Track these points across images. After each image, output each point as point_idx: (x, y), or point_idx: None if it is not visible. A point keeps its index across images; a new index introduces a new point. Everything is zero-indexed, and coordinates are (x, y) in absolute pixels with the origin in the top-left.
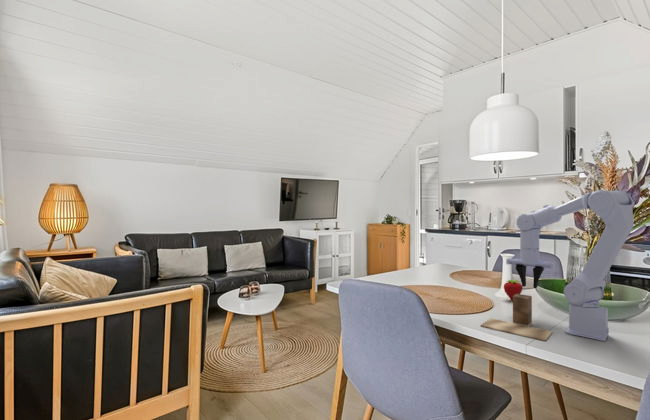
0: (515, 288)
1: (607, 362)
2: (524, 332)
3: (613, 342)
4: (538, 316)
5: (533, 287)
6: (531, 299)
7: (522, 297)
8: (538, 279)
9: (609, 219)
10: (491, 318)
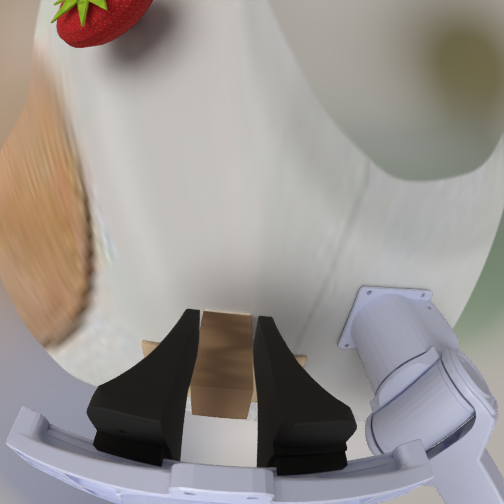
0: (116, 26)
1: (366, 411)
2: None
3: None
4: (266, 221)
5: (253, 347)
6: (252, 381)
7: (225, 415)
8: (287, 357)
9: None
10: (144, 343)
